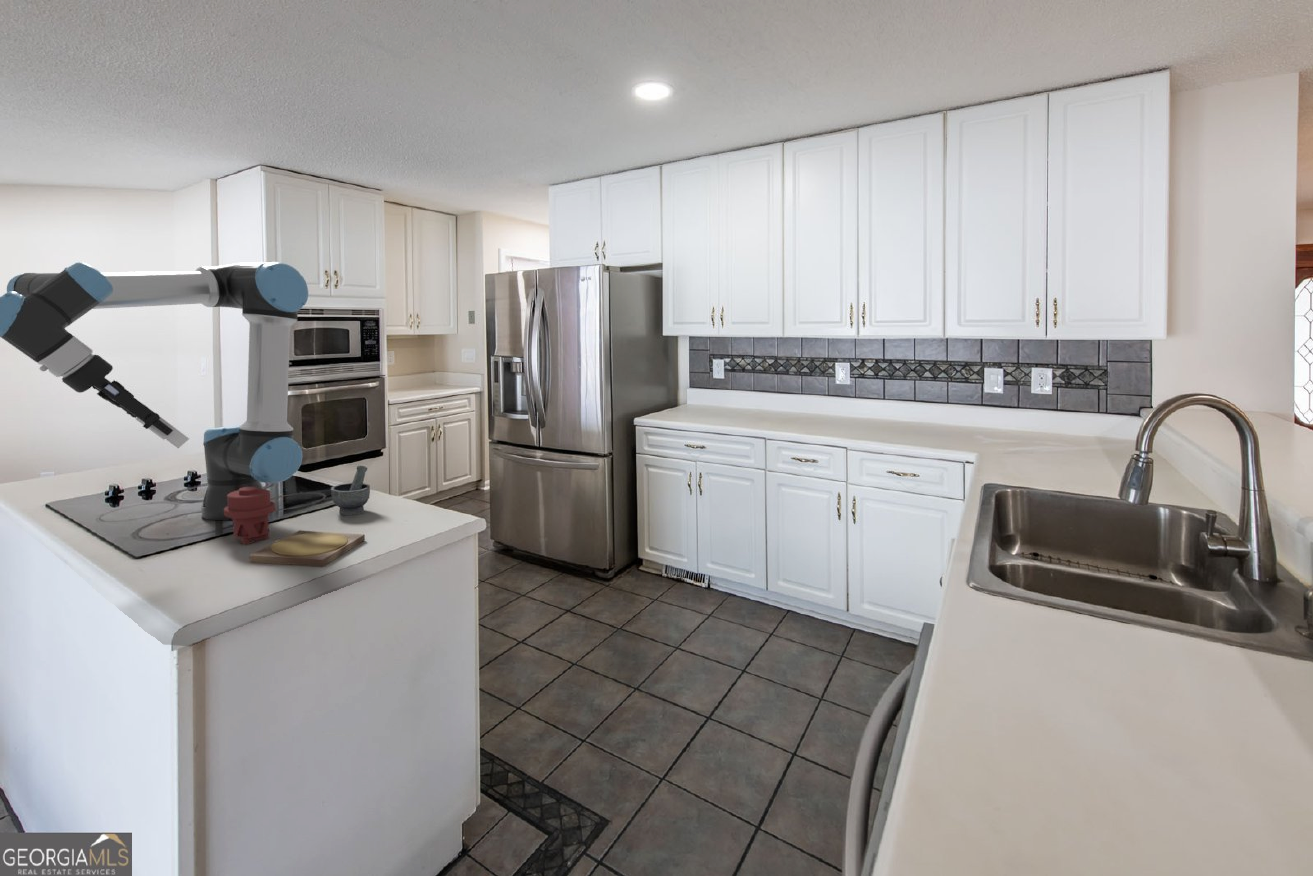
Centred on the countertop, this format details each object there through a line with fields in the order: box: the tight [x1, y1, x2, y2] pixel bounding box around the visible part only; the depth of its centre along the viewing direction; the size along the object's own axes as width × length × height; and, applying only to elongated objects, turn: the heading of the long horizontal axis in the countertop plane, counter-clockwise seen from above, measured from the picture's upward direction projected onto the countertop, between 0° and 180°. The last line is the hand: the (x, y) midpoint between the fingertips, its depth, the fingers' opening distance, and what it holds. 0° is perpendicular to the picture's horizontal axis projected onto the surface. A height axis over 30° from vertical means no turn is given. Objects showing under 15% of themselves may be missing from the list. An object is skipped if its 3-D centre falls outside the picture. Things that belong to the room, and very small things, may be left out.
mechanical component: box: [224, 487, 276, 545], centre depth 147 cm, size 12×10×10 cm
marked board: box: [249, 530, 366, 567], centre depth 142 cm, size 17×16×2 cm
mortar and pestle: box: [330, 465, 371, 516], centre depth 172 cm, size 11×9×12 cm
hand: (176, 439), depth 135 cm, fingers open, 13 cm apart
